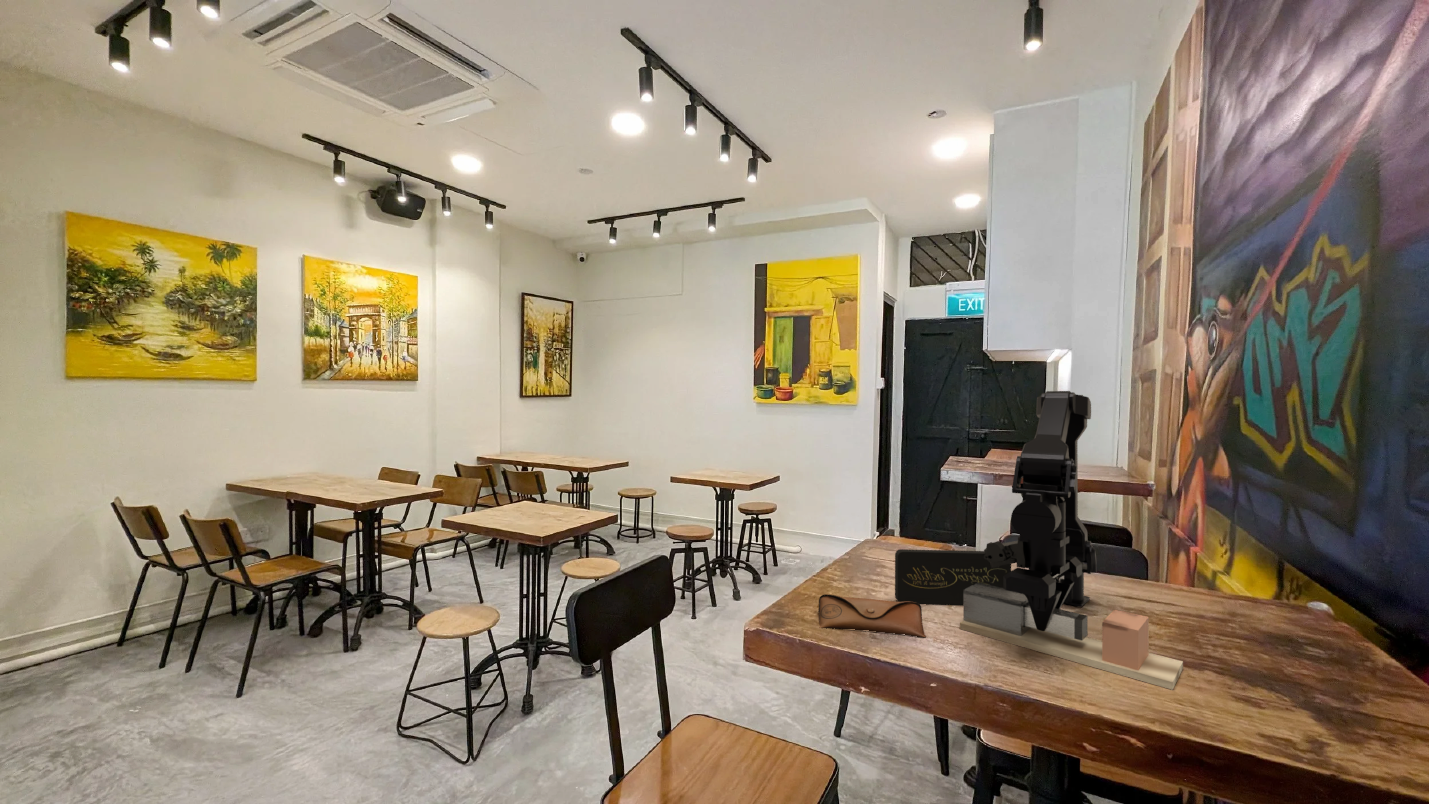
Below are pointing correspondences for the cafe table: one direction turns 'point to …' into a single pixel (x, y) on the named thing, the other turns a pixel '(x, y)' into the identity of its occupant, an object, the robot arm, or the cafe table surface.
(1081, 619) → the silver rectangular bar
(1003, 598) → the grey sleeve
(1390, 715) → the cafe table surface
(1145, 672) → the base board
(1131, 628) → the terracotta socket
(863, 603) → the sunglasses case
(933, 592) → the nameplate
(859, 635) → the cafe table surface
